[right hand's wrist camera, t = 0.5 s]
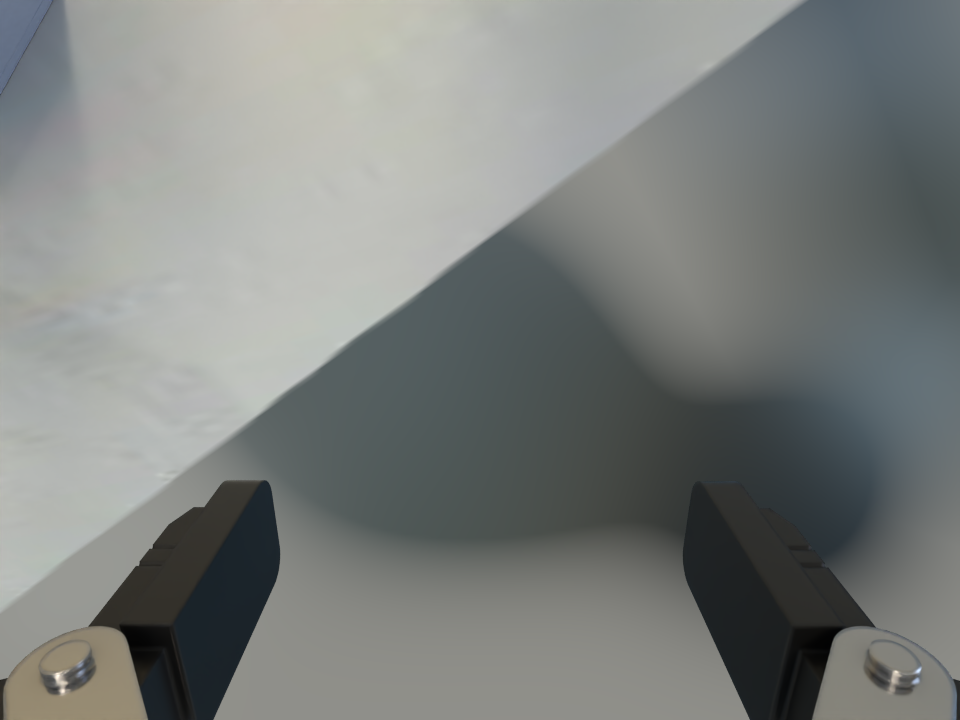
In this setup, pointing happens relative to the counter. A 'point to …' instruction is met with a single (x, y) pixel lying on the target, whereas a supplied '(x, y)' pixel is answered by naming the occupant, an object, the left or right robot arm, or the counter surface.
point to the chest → (17, 31)
